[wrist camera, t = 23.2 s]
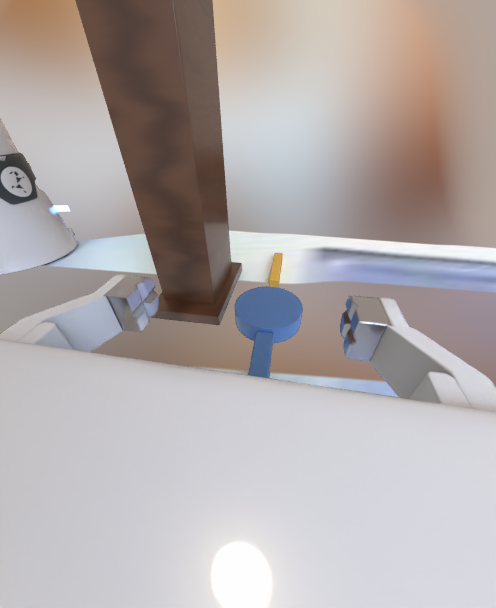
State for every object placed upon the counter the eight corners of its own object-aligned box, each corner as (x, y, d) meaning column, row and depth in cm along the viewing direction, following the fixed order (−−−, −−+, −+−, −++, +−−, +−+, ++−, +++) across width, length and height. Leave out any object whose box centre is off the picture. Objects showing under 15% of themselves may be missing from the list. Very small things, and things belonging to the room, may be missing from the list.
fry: (268, 287, 30) (269, 279, 30) (274, 259, 36) (274, 252, 36) (278, 288, 30) (278, 280, 29) (282, 260, 36) (282, 252, 36)
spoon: (181, 497, 13) (174, 486, 12) (242, 298, 29) (241, 284, 27) (305, 522, 12) (310, 514, 11) (299, 302, 28) (301, 288, 26)
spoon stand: (150, 317, 26) (-17, -136, 10) (190, 266, 35) (136, -12, 19) (219, 325, 25) (154, -178, 9) (242, 270, 34) (230, -24, 18)
